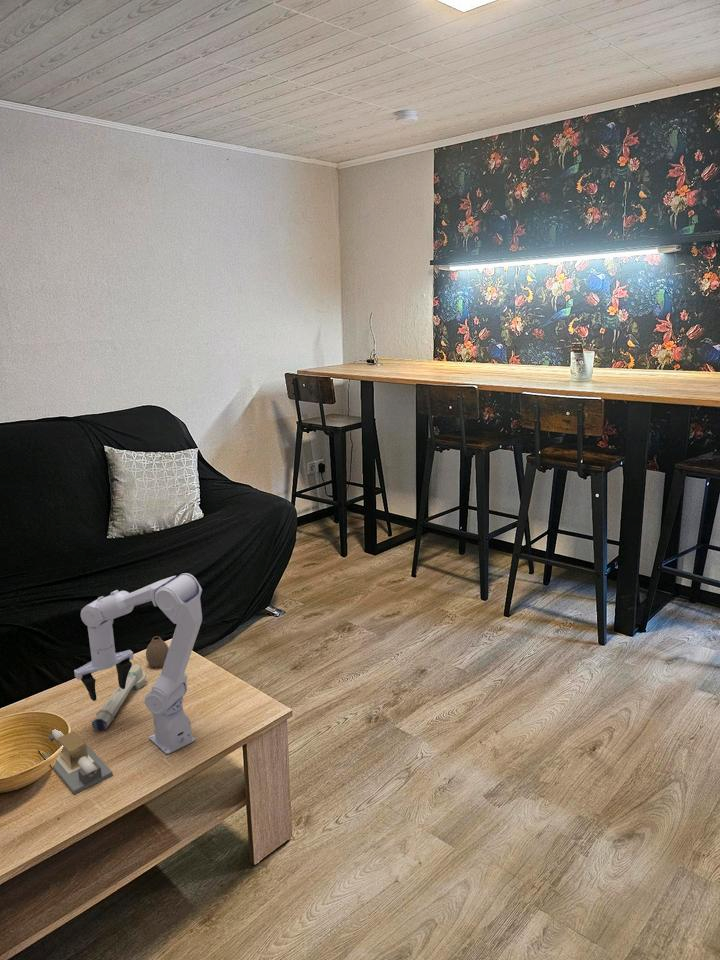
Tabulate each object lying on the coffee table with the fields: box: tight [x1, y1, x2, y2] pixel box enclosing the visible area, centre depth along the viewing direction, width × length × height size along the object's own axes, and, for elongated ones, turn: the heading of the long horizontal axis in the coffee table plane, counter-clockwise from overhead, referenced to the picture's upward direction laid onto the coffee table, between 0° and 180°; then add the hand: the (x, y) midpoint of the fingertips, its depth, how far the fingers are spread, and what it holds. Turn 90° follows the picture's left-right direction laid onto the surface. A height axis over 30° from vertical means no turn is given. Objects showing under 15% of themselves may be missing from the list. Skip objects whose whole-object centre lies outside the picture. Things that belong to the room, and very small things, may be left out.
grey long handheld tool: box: [91, 663, 147, 732], centre depth 185 cm, size 5×7×25 cm
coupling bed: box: [42, 729, 114, 795], centre depth 160 cm, size 22×9×5 cm, turn 44°
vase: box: [145, 636, 170, 669], centre depth 204 cm, size 7×7×9 cm
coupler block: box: [57, 730, 88, 770], centre depth 160 cm, size 7×4×5 cm, turn 44°
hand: (108, 693), depth 173 cm, fingers open, 7 cm apart
